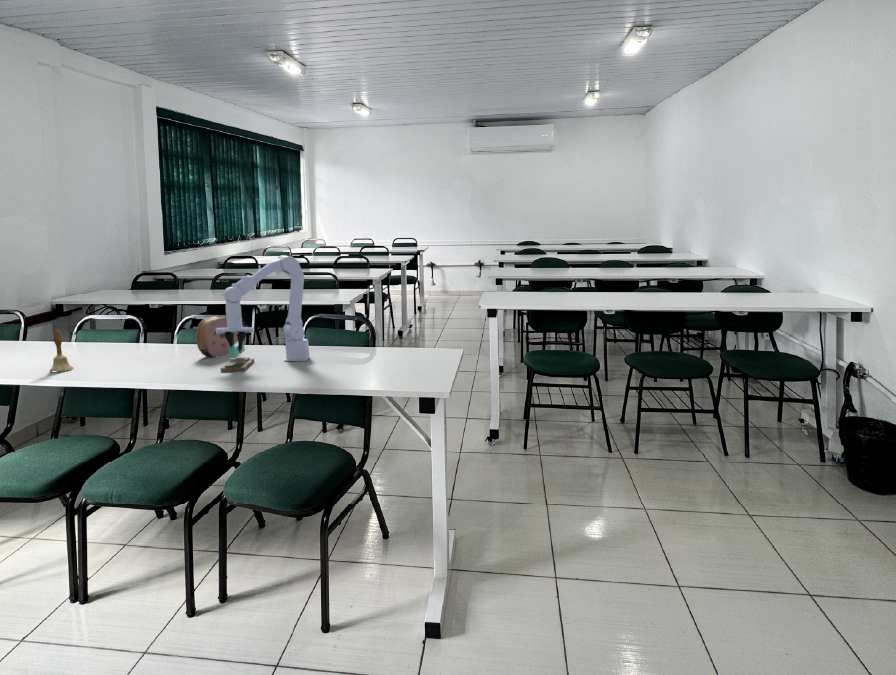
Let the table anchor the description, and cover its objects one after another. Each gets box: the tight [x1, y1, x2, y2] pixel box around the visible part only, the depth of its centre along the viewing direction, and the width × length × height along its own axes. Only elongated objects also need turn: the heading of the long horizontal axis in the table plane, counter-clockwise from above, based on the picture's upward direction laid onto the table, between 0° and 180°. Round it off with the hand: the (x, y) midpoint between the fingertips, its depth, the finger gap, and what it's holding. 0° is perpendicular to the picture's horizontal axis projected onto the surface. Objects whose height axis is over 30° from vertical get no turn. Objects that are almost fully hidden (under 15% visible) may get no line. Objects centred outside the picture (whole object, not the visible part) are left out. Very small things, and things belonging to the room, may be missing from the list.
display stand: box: [220, 356, 255, 373], centre depth 242 cm, size 16×9×4 cm, turn 4°
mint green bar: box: [228, 341, 246, 359], centre depth 241 cm, size 14×2×4 cm, turn 4°
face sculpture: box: [195, 315, 238, 358], centre depth 264 cm, size 20×7×17 cm, turn 161°
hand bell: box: [49, 330, 74, 372], centre depth 238 cm, size 8×8×16 cm
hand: (236, 350), depth 241 cm, fingers closed on mint green bar, 2 cm apart
